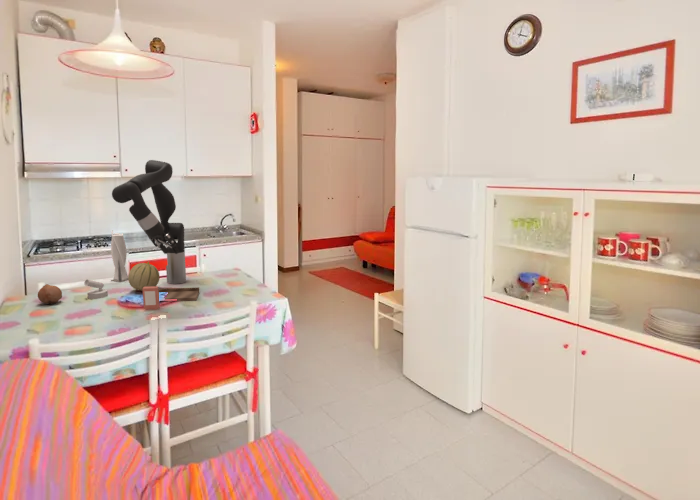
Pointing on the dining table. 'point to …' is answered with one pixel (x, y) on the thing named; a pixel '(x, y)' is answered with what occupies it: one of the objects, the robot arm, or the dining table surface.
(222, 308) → the dining table surface
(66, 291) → the dining table surface
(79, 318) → the dining table surface
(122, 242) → the skyscraper
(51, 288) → the brown round lump
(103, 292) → the security camera
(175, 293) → the display ledge
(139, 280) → the cantaloupe
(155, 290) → the picture frame
